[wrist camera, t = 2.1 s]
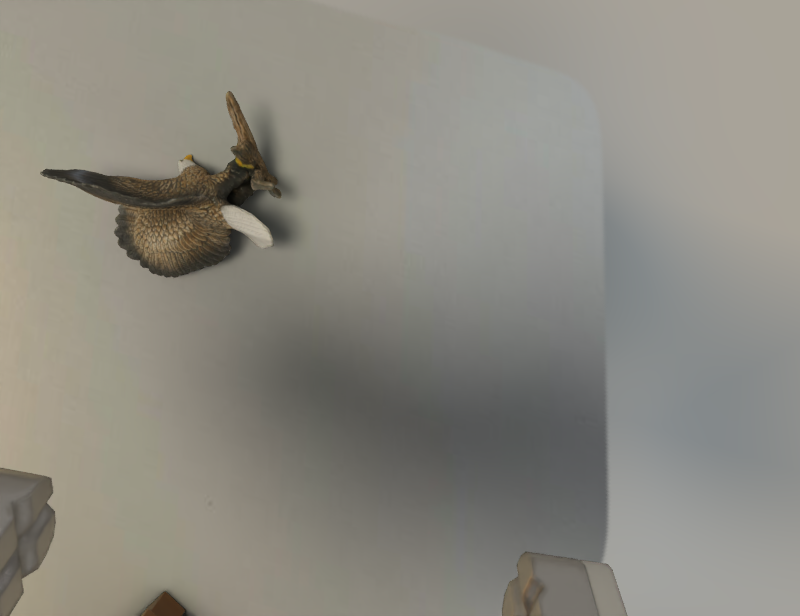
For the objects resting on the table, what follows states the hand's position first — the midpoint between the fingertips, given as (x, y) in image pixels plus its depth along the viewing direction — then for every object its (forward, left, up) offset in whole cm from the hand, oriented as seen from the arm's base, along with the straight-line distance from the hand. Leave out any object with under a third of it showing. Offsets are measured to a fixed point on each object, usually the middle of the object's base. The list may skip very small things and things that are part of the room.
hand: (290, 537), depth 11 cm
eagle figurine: (+3, -11, -22) cm, 25 cm away
